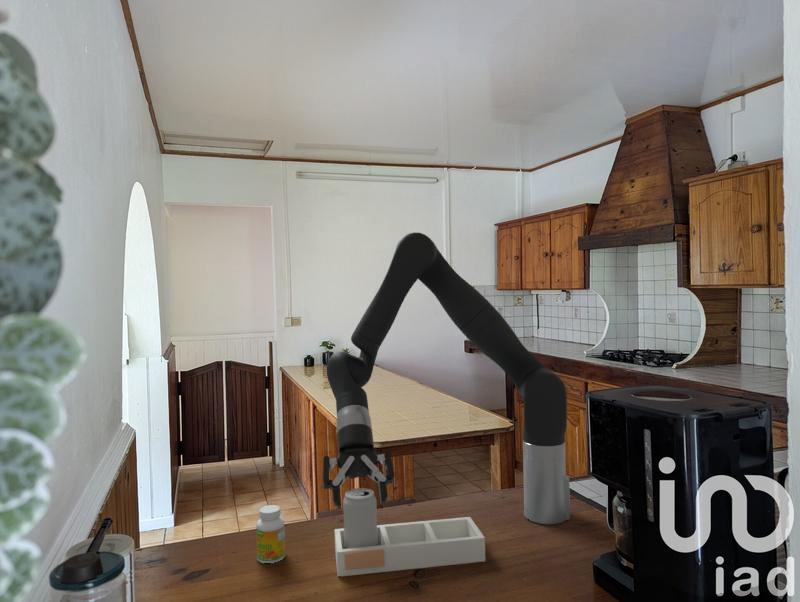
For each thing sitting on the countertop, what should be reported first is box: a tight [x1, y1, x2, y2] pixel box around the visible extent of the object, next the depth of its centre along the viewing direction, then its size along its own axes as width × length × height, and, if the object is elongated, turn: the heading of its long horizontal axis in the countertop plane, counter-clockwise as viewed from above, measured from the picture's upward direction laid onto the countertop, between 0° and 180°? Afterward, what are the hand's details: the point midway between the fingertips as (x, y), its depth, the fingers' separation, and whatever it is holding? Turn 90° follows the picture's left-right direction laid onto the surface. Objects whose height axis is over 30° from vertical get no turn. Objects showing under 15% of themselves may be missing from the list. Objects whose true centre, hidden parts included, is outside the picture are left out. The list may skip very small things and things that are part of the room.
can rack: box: [334, 516, 486, 577], centre depth 108 cm, size 28×10×4 cm, turn 99°
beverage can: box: [342, 487, 378, 549], centre depth 107 cm, size 6×6×12 cm
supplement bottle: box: [255, 504, 286, 564], centre depth 109 cm, size 5×5×10 cm
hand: (361, 505), depth 108 cm, fingers open, 8 cm apart
